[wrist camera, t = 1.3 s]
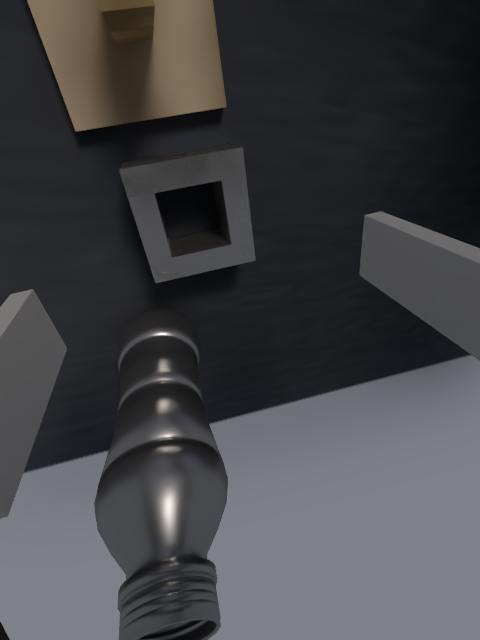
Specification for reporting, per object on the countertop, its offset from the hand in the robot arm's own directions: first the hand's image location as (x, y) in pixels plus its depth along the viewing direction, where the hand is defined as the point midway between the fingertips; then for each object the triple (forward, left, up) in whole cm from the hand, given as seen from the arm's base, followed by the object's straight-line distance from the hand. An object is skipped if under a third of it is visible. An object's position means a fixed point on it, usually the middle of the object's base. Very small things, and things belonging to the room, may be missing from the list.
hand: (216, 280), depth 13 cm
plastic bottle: (+5, +10, -13) cm, 17 cm away
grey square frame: (0, 0, -12) cm, 12 cm away
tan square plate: (+1, -10, -12) cm, 16 cm away
